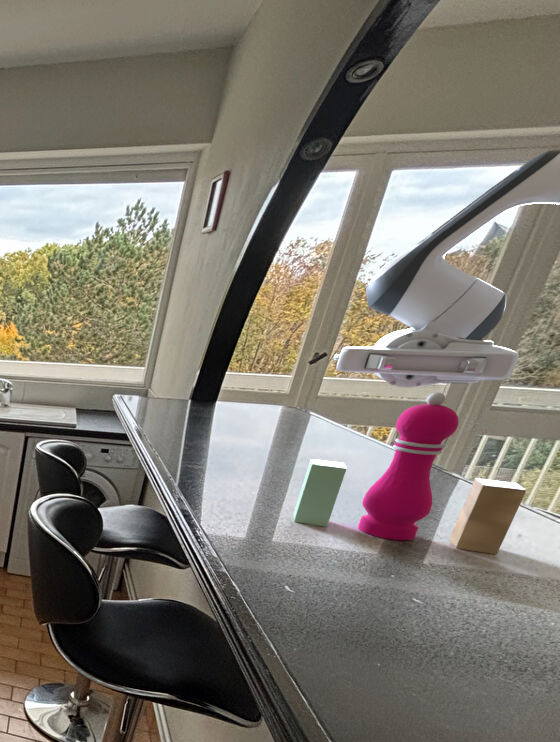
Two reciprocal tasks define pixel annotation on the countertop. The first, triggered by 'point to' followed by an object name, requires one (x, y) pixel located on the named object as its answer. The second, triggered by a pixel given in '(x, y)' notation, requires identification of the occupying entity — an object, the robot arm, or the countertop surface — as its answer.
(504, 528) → the maple block
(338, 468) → the sage block
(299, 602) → the countertop surface
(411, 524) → the pepper mill
